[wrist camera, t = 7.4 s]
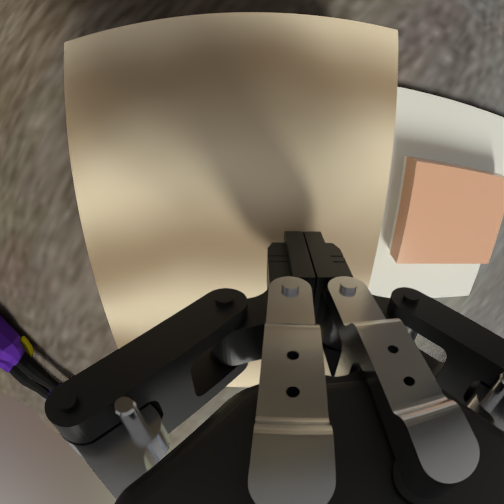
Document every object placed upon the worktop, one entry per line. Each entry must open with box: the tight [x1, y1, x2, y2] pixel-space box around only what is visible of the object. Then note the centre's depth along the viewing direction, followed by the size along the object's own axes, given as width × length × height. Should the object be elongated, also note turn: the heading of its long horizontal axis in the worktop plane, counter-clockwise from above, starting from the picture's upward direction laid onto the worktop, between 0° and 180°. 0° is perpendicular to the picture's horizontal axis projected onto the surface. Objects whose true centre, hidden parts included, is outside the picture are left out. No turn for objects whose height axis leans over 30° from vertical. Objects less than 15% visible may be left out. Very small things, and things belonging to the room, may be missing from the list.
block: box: [64, 12, 398, 387], centre depth 17 cm, size 20×14×7 cm
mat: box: [368, 87, 504, 298], centre depth 20 cm, size 16×12×1 cm
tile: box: [388, 156, 504, 264], centre depth 18 cm, size 7×9×2 cm
